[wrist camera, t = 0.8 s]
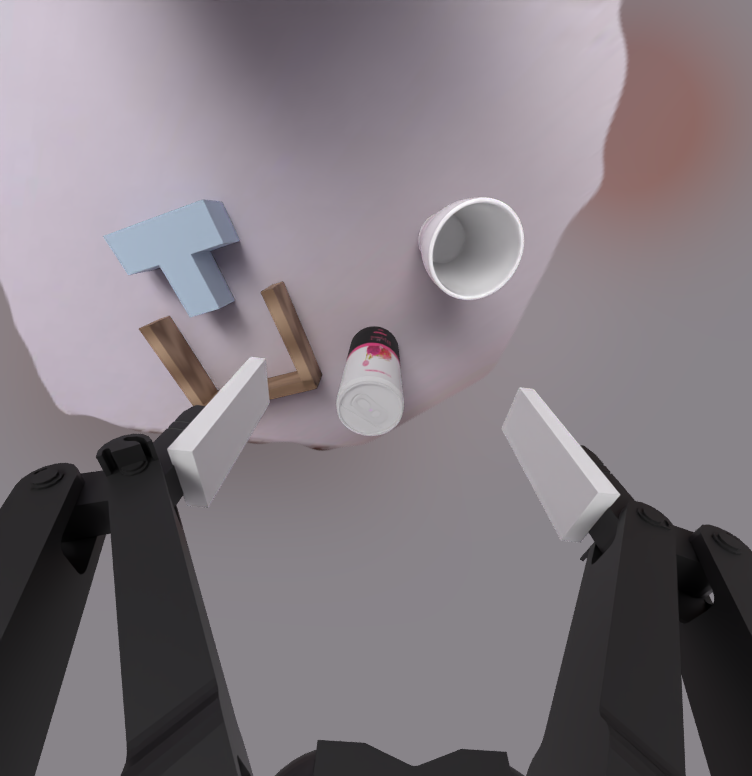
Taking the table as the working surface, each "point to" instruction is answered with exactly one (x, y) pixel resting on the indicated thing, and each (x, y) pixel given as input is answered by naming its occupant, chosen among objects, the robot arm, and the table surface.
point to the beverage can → (371, 384)
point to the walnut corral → (195, 378)
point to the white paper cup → (472, 247)
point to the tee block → (181, 252)
